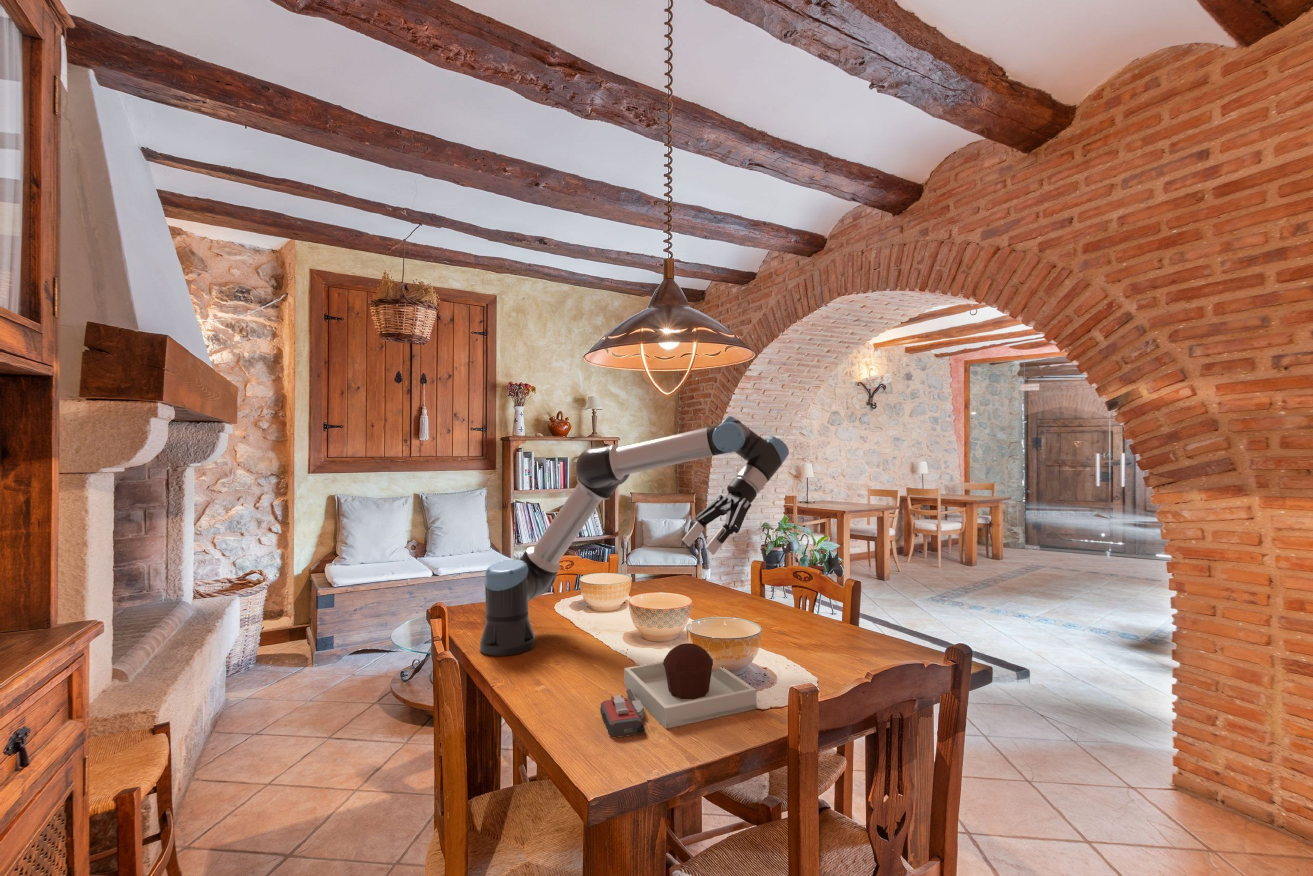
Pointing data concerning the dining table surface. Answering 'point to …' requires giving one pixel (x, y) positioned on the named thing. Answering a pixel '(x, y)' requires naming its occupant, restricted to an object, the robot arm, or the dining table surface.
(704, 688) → the muffin
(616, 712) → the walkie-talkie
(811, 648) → the dining table surface
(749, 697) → the tray
